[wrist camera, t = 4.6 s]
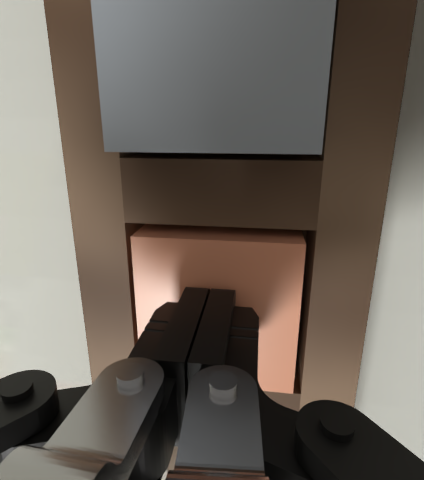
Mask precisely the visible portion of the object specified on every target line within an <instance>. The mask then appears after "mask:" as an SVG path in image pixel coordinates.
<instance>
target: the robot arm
mask: <svg viewBox="0 0 424 480" xmlns="http://www.w3.org/2000/svg"><path fill="white" fill-rule="evenodd" d="M235 304H236V290H230V289H214V288H211V290H210V288H196V287H185V289H184V291H183V293H182V295H181V297H180V299H179V301H178V302H166V303H165V304H163V305H162V306H160V307H159V308H157V309H156V310H155V311H154V313H153V315H152V317H151V318H150V320H149V322H148V323H147V325H146V327H145V329H144V331H143V332H142V334H141V336H140V337H139V339H138V341H137V342H136V344H135V346H134V348H133V349H132V351H131V353H130V355H129V356H128V358H126V359H122V360H119V361H116V362H114V363H112V364H111V365H109V366H107V367H106V368H105V369H104V370H103V371H102V372H101V373H100V374H99V376H98V377H97V378H96V379H95V381H94V382H93V383H92V385H88V386H83V387H76V388H69V389H62V390H57V386H56V381H55V378H54V376H52V375H51V374H50V373H48V372H45V371H41V370H26V371H21V372H17V373H14V374H11V375H9V376H6V377H4V378H2V379H0V480H424V462H423V461H422V460H421V459H419V458H418V457H417V456H416V455H414V454H413V453H412V452H411V451H409V450H408V449H407V448H406V447H404V446H403V445H402V444H401V443H399V442H398V441H397V440H396V439H394V438H393V437H392V436H390V435H389V434H388V433H387V432H385V431H384V430H383V429H382V428H380V427H379V426H378V425H377V424H375V423H374V422H373V421H372V420H370V419H369V418H368V417H367V416H365V415H364V414H363V413H361V412H360V411H358V410H357V409H355V408H353V407H352V406H349V405H347V404H345V403H342V402H338V401H333V400H317V401H312V402H310V403H307V404H306V405H304V406H303V407H302V408H301V409H300V410H299V412H298V411H295V410H293V409H290V408H287V407H285V406H282V405H280V404H278V403H276V402H275V401H273V400H272V399H270V398H269V397H268V396H267V395H266V394H265V393H264V392H263V390H262V389H261V387H260V385H259V382H258V339H259V316H258V315H257V314H256V312H255V311H254V309H253V308H252V307H239V306H235ZM174 446H176V447H178V450H177V456H176V461H175V466H174V470H169V463H170V460H171V456H172V453H173V449H174Z"/></svg>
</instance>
